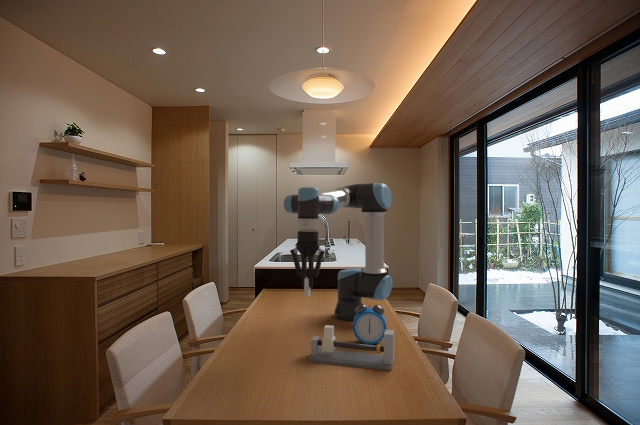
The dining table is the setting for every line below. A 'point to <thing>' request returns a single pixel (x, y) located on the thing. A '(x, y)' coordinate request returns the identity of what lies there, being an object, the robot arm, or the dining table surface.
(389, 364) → the slider rail fixture
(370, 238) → the robot arm
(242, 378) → the dining table surface
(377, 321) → the alarm clock
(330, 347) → the sleeve
